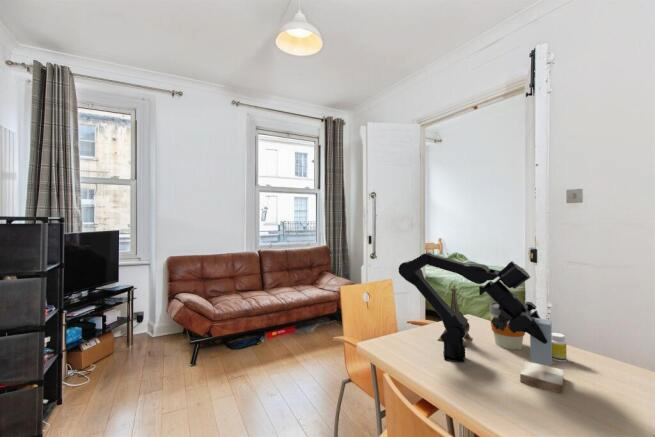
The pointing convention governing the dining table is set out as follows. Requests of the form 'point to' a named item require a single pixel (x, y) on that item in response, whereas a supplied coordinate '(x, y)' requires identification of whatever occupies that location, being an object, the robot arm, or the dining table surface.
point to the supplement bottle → (558, 347)
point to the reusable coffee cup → (505, 332)
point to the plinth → (542, 376)
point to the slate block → (542, 344)
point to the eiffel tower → (455, 307)
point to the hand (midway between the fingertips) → (546, 340)
